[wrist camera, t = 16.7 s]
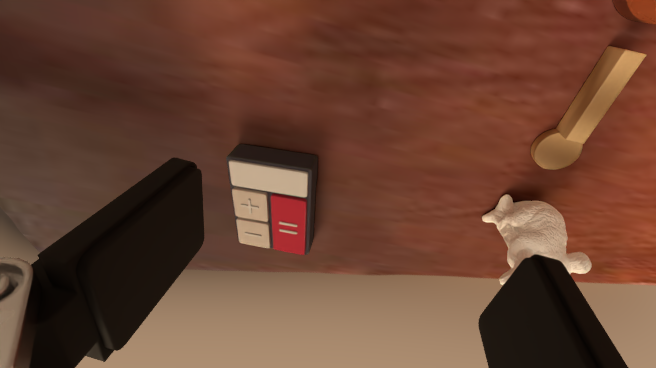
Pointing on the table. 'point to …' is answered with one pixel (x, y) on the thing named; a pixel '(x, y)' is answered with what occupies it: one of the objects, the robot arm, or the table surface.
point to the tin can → (637, 10)
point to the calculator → (273, 197)
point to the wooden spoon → (586, 109)
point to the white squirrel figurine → (534, 234)
